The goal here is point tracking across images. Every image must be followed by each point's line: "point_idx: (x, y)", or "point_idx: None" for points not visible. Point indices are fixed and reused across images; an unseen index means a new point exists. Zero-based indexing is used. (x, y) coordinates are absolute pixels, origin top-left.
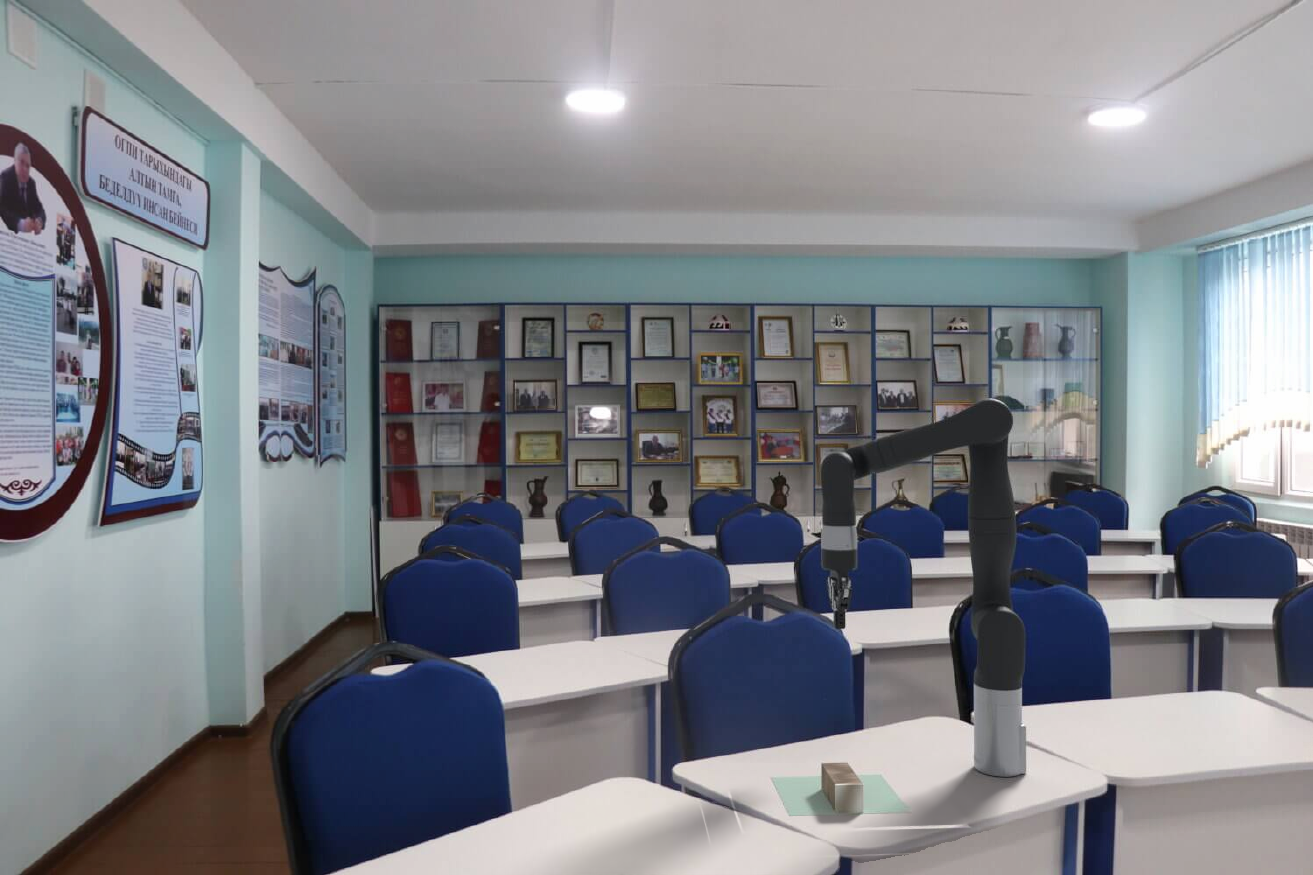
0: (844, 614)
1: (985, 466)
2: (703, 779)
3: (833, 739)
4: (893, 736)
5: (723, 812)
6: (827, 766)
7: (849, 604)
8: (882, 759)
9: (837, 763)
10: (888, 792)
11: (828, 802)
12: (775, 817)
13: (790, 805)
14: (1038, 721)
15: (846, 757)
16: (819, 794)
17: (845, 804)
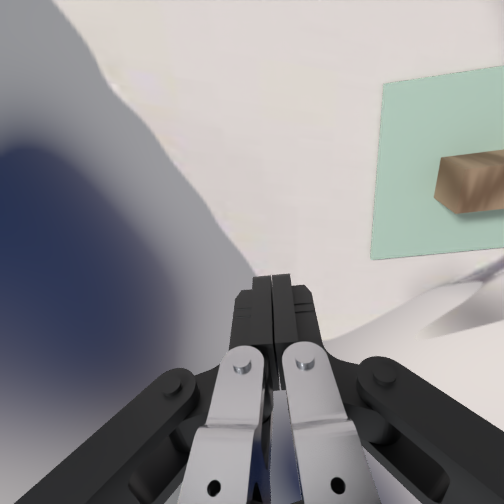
0: (297, 329)
1: None
2: (354, 324)
3: (174, 149)
4: (124, 5)
5: (462, 307)
6: (475, 205)
7: (457, 402)
8: (281, 62)
9: (465, 187)
10: (478, 83)
11: None
12: (498, 258)
13: (481, 242)
14: None
15: (271, 136)
16: None
17: None
